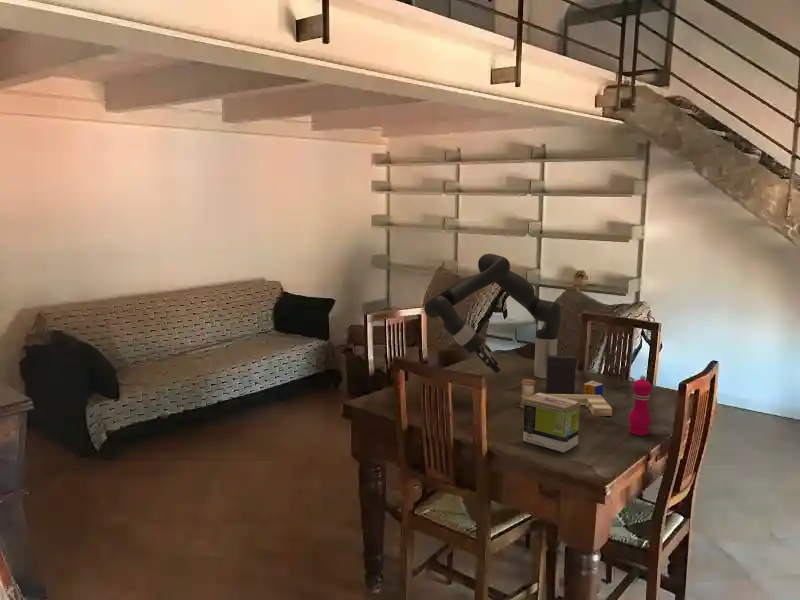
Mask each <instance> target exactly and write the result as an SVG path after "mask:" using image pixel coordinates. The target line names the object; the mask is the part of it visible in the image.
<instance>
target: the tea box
mask: <svg viewBox="0 0 800 600" xmlns="http://www.w3.org/2000/svg"><path fill="white" fill-rule="evenodd" d="M549 394H550V393H545V392H544V393H543V392H537V393H534V395H532V396H530V397H528V398H525V400H524V409H523V428H522V430H523V432H522V433H523V436H522V438H523V439H522V441H523V442H526V443H530V444H534V445H536V446H540V447H543V448H547V449H551V450H553V451H558V452H561V453H565V452H567V451H569V450H571V449H573V448H574V447H575V446H577V445H578V443H579V432H580V431H579V429H580V426H579V425H580V407H581V406H580V401H576V400H571V399H567V398H562V397H558V396H553V395H549Z"/></svg>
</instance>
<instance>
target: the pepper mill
mask: <svg viewBox="0 0 800 600" xmlns="http://www.w3.org/2000/svg"><path fill="white" fill-rule="evenodd" d="M652 389H653V387H652V383H651V382H650V381H649V380H647V378H646V375H644V374H642V375H640V377H639V379H637V380H635V381H634V382H633V383H632V390H633V392H634V393H633V398H634V405H633V408H632V410H631V411H630V413H629V415H628V423H629V424H630V425H629V433H631V434H633V435H636V436H642V437H643V436H648V435H649V433H650V428H649V426H651V424H652V417H651V414H650V411H649V407H648V401H649V400H650V396H651V395H650V393H651V392H652Z"/></svg>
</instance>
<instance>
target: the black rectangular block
mask: <svg viewBox="0 0 800 600" xmlns="http://www.w3.org/2000/svg"><path fill="white" fill-rule="evenodd" d="M576 369H577V358H576V356H575V355H561V354H560V355H559V354H558V355H548V356H547V374H546V378H545V379H546V380H545V392H546V394H566V393H568V394H575V388H576V387H575V386H576Z"/></svg>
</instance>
